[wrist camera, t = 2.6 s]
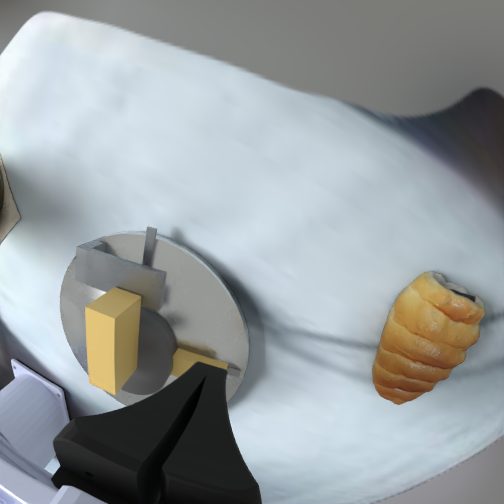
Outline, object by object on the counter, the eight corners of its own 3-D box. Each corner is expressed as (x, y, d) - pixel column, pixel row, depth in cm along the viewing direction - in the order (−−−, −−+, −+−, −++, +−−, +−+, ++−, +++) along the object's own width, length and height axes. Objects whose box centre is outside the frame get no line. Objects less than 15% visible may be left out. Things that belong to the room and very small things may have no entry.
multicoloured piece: (218, 403, 20) (200, 454, 15) (102, 361, 20) (67, 398, 16) (241, 309, 18) (223, 355, 13) (104, 267, 18) (55, 293, 14)
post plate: (227, 432, 22) (218, 461, 19) (72, 372, 23) (53, 391, 20) (277, 255, 18) (273, 272, 15) (70, 202, 19) (40, 208, 16)
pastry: (418, 396, 20) (431, 427, 16) (345, 378, 20) (352, 413, 16) (479, 290, 17) (507, 311, 13) (407, 258, 17) (431, 276, 14)
